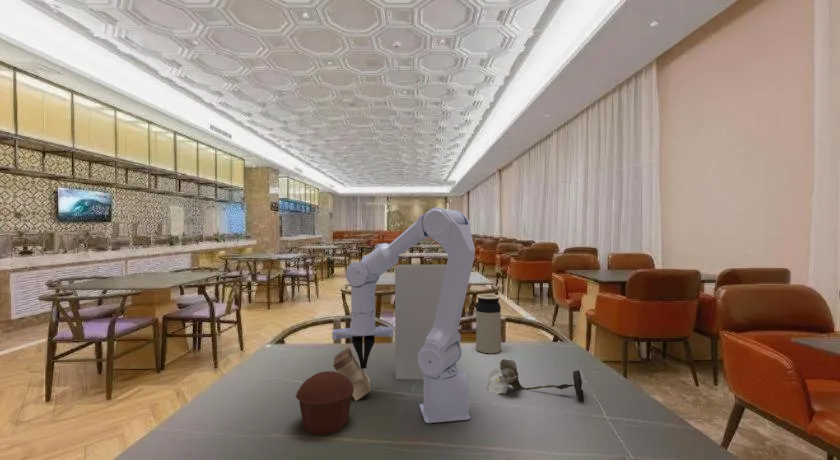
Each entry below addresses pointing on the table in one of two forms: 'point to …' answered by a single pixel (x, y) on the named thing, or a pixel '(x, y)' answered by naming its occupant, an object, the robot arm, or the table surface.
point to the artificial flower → (510, 377)
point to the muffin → (325, 402)
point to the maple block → (352, 372)
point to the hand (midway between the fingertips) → (363, 367)
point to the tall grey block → (414, 313)
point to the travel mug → (488, 324)
